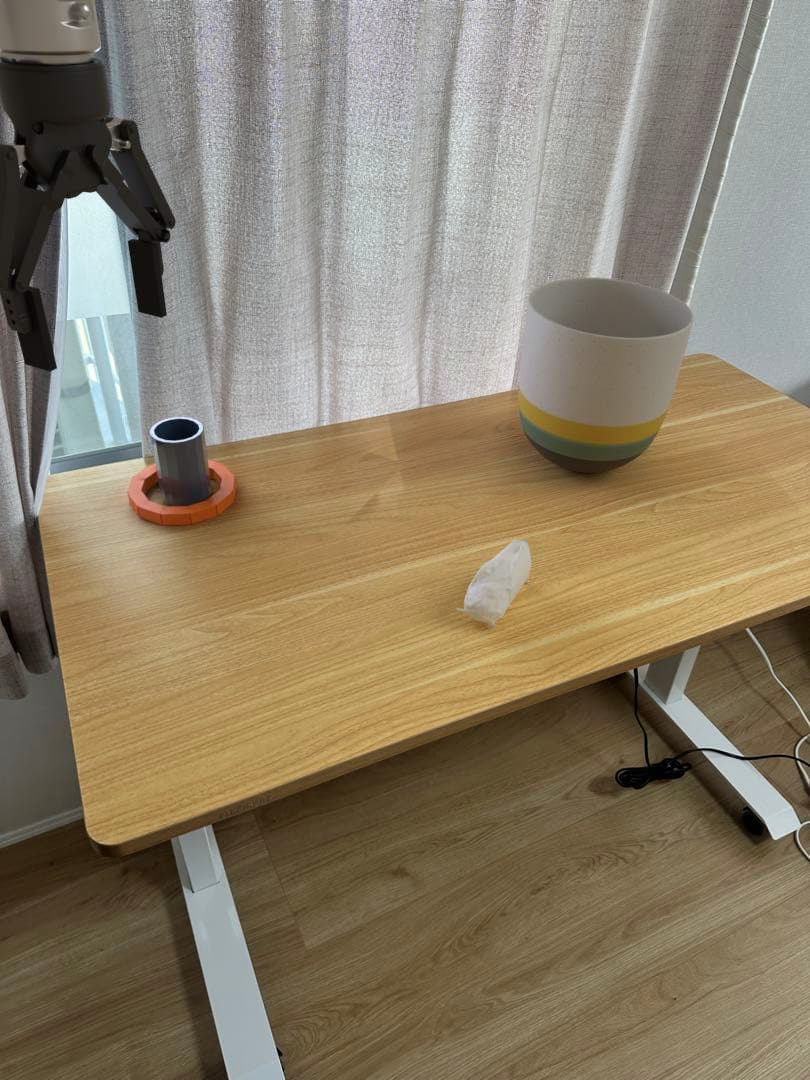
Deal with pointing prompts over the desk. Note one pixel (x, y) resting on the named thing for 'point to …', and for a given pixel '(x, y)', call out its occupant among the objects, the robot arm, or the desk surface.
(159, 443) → the cup
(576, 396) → the planter
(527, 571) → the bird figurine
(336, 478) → the desk surface
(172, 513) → the ring
